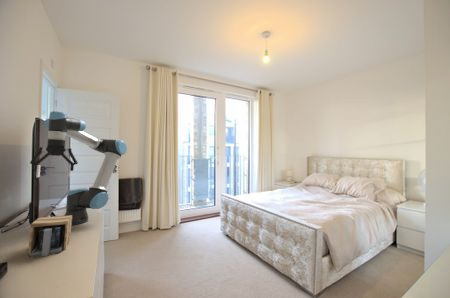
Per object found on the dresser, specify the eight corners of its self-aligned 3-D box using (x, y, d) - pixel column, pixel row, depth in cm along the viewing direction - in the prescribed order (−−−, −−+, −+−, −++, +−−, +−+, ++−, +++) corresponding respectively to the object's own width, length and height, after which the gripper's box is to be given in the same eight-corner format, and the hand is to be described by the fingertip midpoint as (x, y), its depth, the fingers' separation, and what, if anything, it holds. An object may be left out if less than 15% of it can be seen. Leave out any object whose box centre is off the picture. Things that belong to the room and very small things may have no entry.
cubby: (36, 245, 103) (39, 217, 103) (70, 241, 110) (72, 214, 110) (28, 255, 93) (30, 224, 94) (65, 249, 100) (68, 220, 101)
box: (38, 250, 96) (40, 228, 97) (42, 245, 101) (44, 225, 102) (58, 247, 100) (60, 226, 100) (61, 243, 105) (63, 223, 105)
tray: (39, 245, 103) (41, 222, 103) (66, 242, 108) (68, 220, 108) (29, 258, 91) (31, 231, 91) (59, 253, 96) (61, 228, 96)
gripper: (23, 137, 101) (20, 178, 101) (83, 140, 114) (80, 177, 113) (29, 137, 108) (26, 176, 107) (84, 141, 120) (82, 175, 120)
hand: (54, 176), depth 110 cm, fingers open, 13 cm apart
